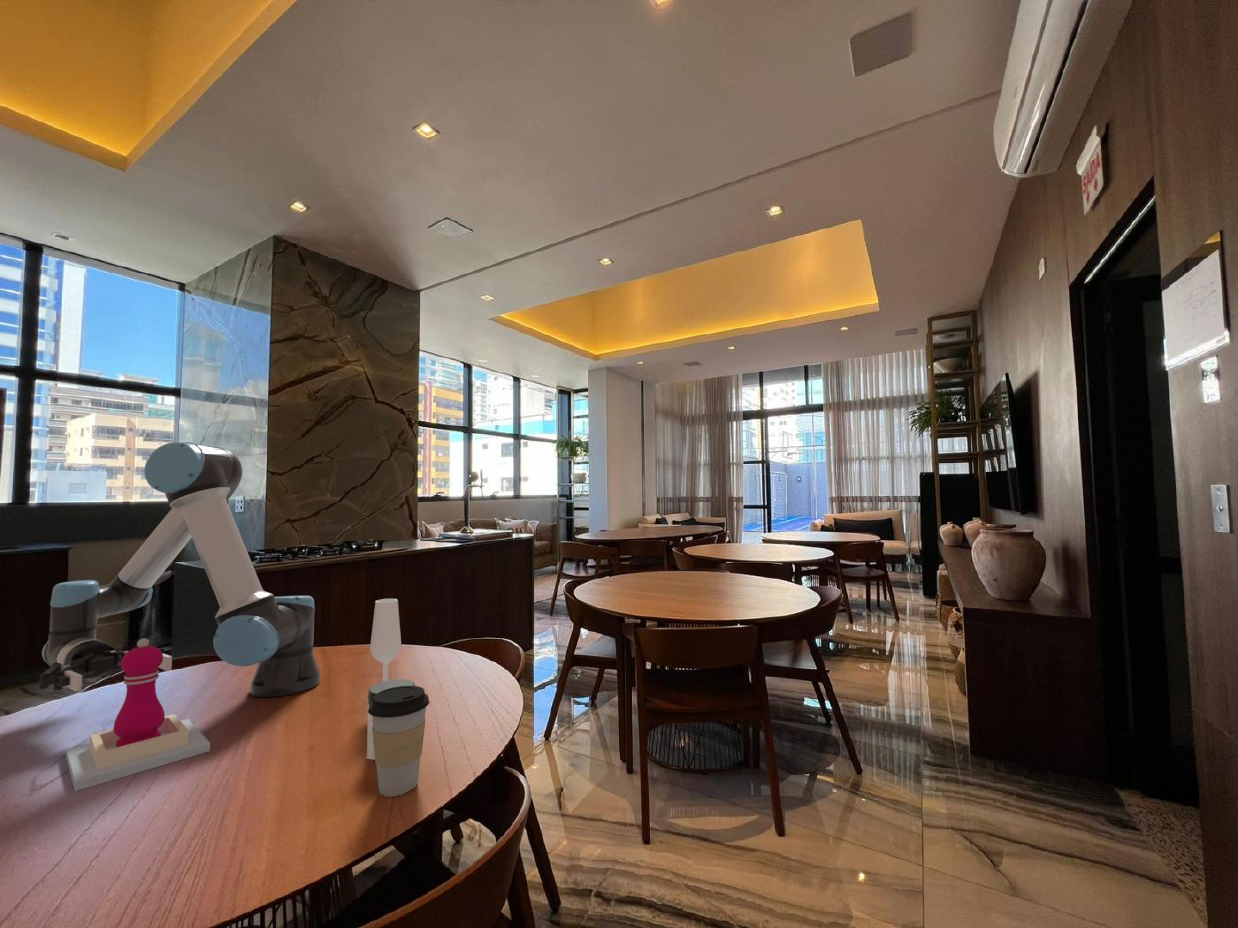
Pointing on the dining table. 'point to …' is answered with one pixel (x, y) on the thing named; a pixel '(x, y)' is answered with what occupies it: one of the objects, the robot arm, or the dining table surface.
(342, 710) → the dining table surface
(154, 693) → the pepper mill
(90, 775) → the board
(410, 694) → the coffee cup
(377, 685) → the jar
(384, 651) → the champagne flute
